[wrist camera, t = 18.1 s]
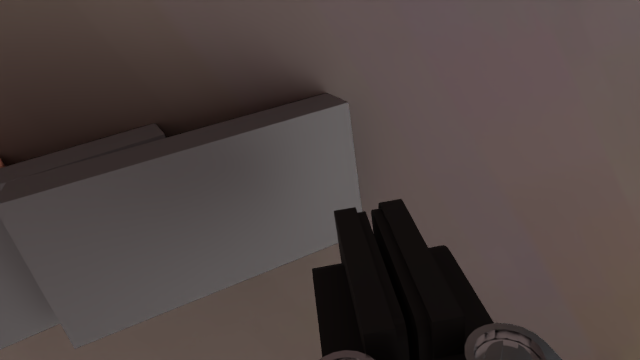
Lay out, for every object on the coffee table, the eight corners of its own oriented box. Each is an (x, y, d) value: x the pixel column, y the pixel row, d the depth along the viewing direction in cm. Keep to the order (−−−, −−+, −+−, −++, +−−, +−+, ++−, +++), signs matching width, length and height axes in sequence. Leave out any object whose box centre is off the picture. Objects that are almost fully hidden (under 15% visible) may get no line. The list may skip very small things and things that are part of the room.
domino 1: (164, 134, 14) (-272, 266, 10) (206, 259, 16) (-136, 408, 12) (154, 123, 15) (-235, 236, 11) (195, 240, 17) (-118, 370, 13)
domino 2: (348, 102, 14) (-7, 205, 11) (364, 232, 16) (74, 348, 13) (326, 93, 15) (5, 182, 12) (344, 213, 17) (77, 316, 14)
